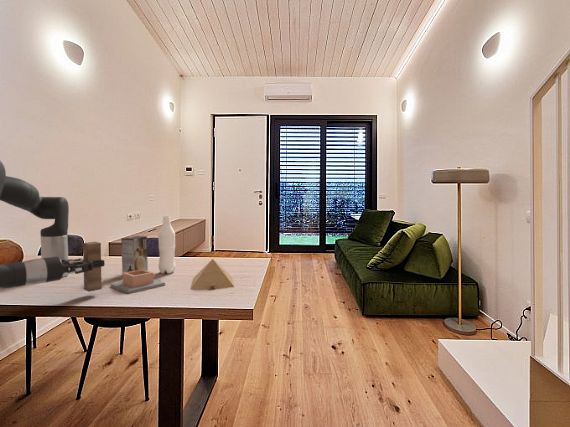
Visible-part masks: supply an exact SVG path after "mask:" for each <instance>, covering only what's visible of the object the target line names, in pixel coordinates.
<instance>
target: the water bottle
mask: <svg viewBox="0 0 570 427" xmlns="http://www.w3.org/2000/svg"><path fill="white" fill-rule="evenodd" d="M171 223H172V221H171V216H169V215H168V216H167V215H166V216H163V217H162V225H161V227H160V229H159V231H158V233H157V236H158V252H159V260H158V270H159V272H160V274H162V275H163V274H165V273H167V274H172V273H174V272H175V271H176V268H177V267H176V259H175V253H176V252H175V251H176V250H175V249H176V232H175V230H174V228H173V226H172V224H171Z"/></svg>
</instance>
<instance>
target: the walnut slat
mask: <svg viewBox="0 0 570 427" xmlns="http://www.w3.org/2000/svg"><path fill="white" fill-rule="evenodd" d="M101 245H102V243H101V242H99V241H89V242H82V249H83V251H82V253H83V254H82V256H83V258H82V259H83V261H84V262H88V261H98V260H102V246H101ZM87 267H89V265H87ZM102 285H103V284H102V267H97V268H93V270H91V271H87V272H83V290H84V291H87V292H88V293H91V292H95V291H99V290H102V289H103V288H102V287H103V286H102Z"/></svg>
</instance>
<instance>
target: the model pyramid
mask: <svg viewBox="0 0 570 427" xmlns="http://www.w3.org/2000/svg"><path fill="white" fill-rule="evenodd" d="M228 287H230V288H235V283H234V279H233V276H232V275H231V274H230V273H229V272H227V270H225V269H224V268H223V267H222V266H221V265H220V264H219V263H218V262H217V261H216V260H214V258H212V259H210V261H208V263H207V264H206V265H204V267H203V268H202V269H201V270H200V271H199V272H198V273H197V274H196V275H195V276H194V277H193V278H192V281H191V284H190V290H205V289H206V290H207V289H208V288H209V289H208V290H212V289H214V290H216V289H224V288H225V289H226V288H228Z"/></svg>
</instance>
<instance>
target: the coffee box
mask: <svg viewBox="0 0 570 427" xmlns="http://www.w3.org/2000/svg"><path fill="white" fill-rule="evenodd" d="M120 239H121V240H120V241H121V264H122V265H121V268H122V269H121V272H122V273H125V272H131V271H137V270H142V269H143V270H147V271H149V270H148V268H149V267H148V236H146V235H145V236H143V235H133V236H127V237H123V238H122V237H121V238H120Z"/></svg>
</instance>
